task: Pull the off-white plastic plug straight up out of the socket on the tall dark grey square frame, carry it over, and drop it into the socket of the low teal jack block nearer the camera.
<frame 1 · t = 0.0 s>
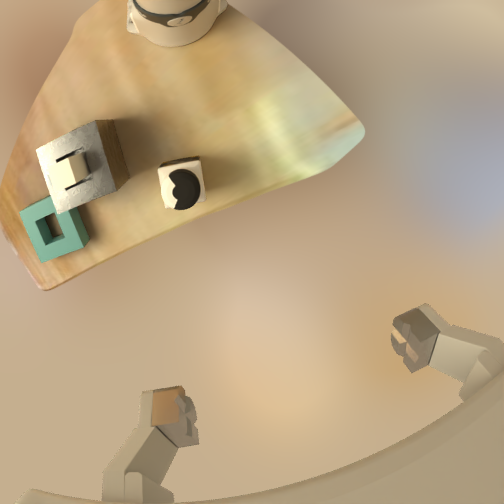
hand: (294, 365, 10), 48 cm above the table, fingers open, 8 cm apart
dark grey square frame: (93, 159, 47), on the table
plug: (82, 164, 42), point 6 cm above the table, touching dark grey square frame
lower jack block: (57, 222, 50), on the table
medicine bottle: (183, 176, 52), on the table
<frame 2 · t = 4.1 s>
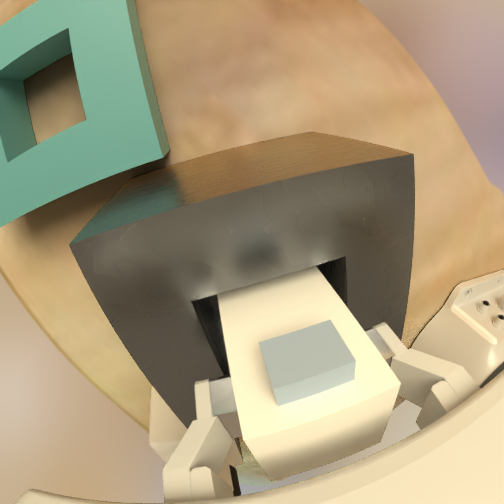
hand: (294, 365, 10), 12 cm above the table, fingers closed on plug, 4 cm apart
dark grey square frame: (242, 236, 20), on the table
plug: (261, 283, 15), point 6 cm above the table, touching gripper, dark grey square frame
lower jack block: (62, 97, 13), on the table
medicine bottle: (194, 397, 27), on the table
when the fingers open (7 cm above the table, at t = 12.4 s): plug stays where it is, resting in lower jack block.
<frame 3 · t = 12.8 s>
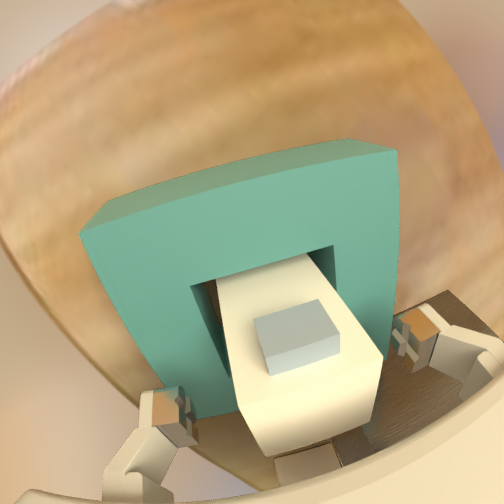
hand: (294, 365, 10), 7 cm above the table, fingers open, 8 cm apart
dark grey square frame: (384, 364, 22), on the table
plug: (258, 273, 16), resting in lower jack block
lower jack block: (257, 273, 15), on the table
medicine bottle: (302, 458, 29), on the table
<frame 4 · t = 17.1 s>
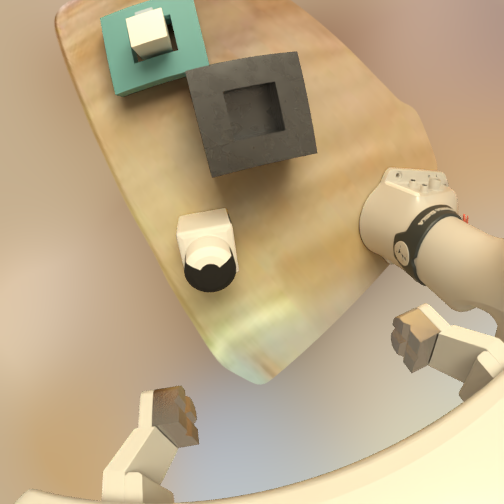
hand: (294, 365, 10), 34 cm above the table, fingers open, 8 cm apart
dark grey square frame: (240, 112, 36), on the table
plug: (156, 45, 30), resting in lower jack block
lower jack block: (155, 45, 30), on the table
medicine bottle: (206, 233, 43), on the table
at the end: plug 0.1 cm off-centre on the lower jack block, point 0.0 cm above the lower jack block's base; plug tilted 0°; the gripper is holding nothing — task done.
